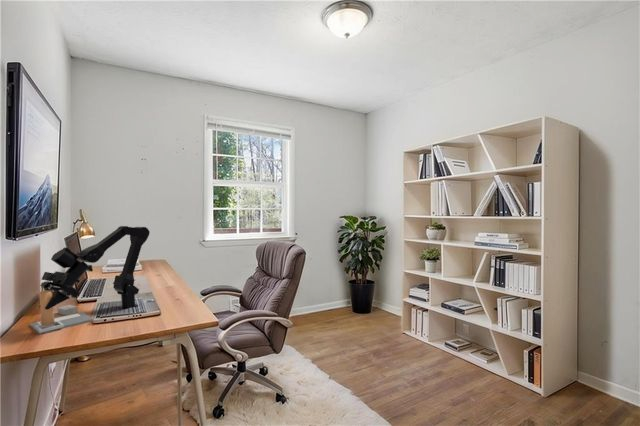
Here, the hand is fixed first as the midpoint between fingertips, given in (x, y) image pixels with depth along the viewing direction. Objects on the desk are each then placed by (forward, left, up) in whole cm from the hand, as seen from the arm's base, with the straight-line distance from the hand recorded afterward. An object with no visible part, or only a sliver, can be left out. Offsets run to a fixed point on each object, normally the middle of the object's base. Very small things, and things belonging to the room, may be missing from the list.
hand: (43, 308), depth 132 cm
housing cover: (+20, -12, -9) cm, 25 cm away
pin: (0, -1, -7) cm, 7 cm away
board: (+5, -7, -9) cm, 13 cm away
